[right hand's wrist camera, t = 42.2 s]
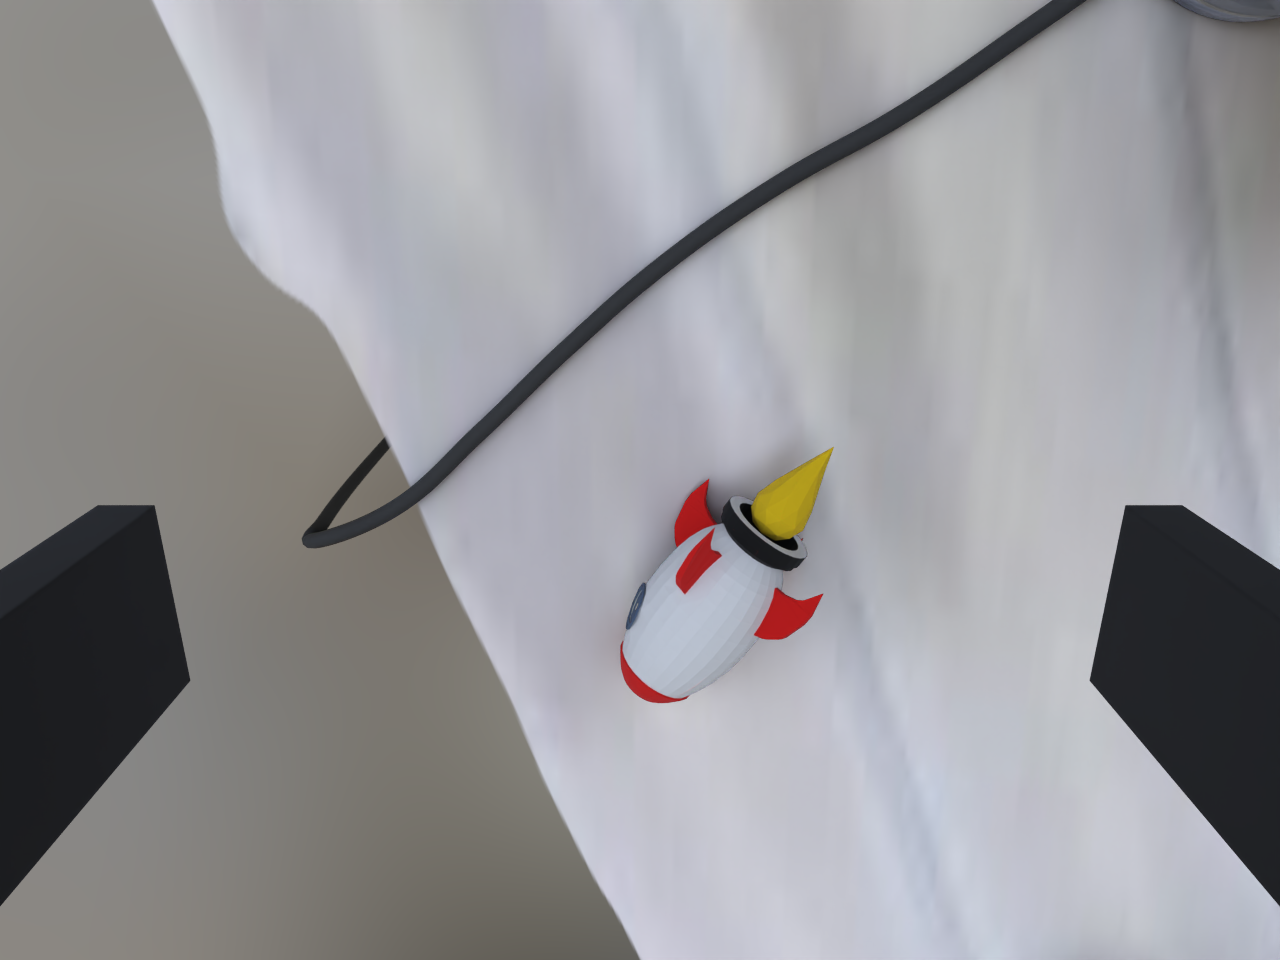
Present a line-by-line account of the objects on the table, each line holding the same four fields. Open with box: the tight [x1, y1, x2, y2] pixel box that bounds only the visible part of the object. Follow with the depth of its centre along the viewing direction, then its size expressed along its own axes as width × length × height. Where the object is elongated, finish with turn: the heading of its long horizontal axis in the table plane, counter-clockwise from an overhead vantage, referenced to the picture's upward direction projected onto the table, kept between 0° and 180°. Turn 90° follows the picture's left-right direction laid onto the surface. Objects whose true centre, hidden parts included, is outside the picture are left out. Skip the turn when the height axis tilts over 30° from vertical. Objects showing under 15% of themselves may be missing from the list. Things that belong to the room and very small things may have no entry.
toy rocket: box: [620, 447, 834, 703], centre depth 53 cm, size 9×10×20 cm
